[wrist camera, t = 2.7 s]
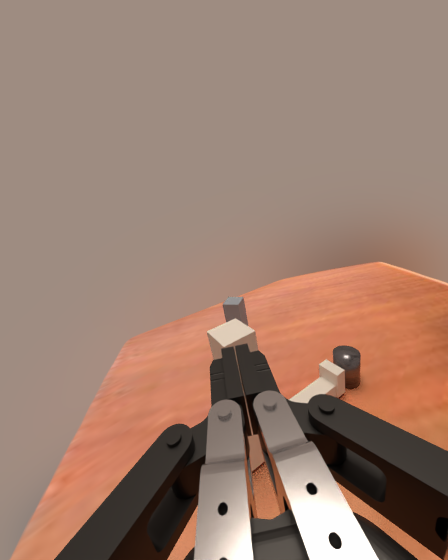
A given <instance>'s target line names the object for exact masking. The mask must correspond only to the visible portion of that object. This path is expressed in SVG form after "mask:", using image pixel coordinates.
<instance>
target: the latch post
mask: <svg viewBox="0 0 448 560" xmlns="http://www.w3.org/2000/svg"><path fill="white" fill-rule="evenodd" d="M223 309H224V314H225V319H226V322H228V321H231V320H233V319H235V318H236V319H237V320H239V321H241V322H242V323H244V324H245V325H247V326H248V321H247V315H246V309H245V304H244V298H243V297H228V298H227V300H226V301H225V302H224V303H223Z"/></svg>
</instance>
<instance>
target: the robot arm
mask: <svg viewBox="0 0 448 560" xmlns="http://www.w3.org/2000/svg"><path fill="white" fill-rule="evenodd" d="M235 351H236V355H235ZM221 353H222V358H220V359H215V360H213V362H212V364H211V366H210V381H211V404H212V406H211V409H210V411H209V414H208V416H207V418H206V419H205V420H204V421H202V422H201V423H199V424H198V425H196V426H194V427H192V428H189V427H188V426H187V425H184V424H175V425H172V426H170V427H168V428H167V429H166V430H165V431H164V432H163V433H162V434H161V435H160V436H159V437H158V438H157V440H156V441H155V442H154V443H153V444H152V445H151V447H150V448H149V449H148V450H147V451H146V452H145V454H144V455H143V456H142V457H141V458H140V460H139V461H138V462H137V463H136V464H135V465H134V467H133V468H132V469H131V470H130V471H129V472H128V474H127V475H126V476H125V477H124V478H123V479H122V481H121V482H120V483H119V484H118V485H117V486H116V488H115V489H114V490H113V491H112V492H111V494H110V495H109V496H108V497H107V498H106V499H105V501H104V502H103V503H102V504H101V505H100V506H99V508H98V509H97V510H96V511H95V512H94V513H93V515H92V516H91V517H90V518H89V519H88V520H87V522H86V523H85V524H84V525H83V526H82V528H81V529H80V530H79V531H78V532H77V533H76V535H75V536H74V537H73V538H72V539H71V540H70V542H69V543H68V544H67V545H66V546H65V547H64V549H63V550H62V551H61V552H60V553H59V554H58V556H57V557H56V558H55V559H54V560H167V559H168V557H169V555H170V553H171V551H172V550H173V548H174V546H175V544H176V543H177V541H178V539H179V537H180V535H181V534H182V532H183V530H184V528H185V527H186V525H187V523H188V521H189V520H190V518H191V516H192V514H193V512H194V511H195V509H196V507H197V505H198V512H197V526H196V539H195V547H194V548H193V549H192V550H191V551H190V552H189V553H188V555H187V556H186V557H185V559H184V560H418V559H417V558H415V557H414V556H413V555H412V554H411V553H409V552H408V551H407V550H406V549H404V548H403V547H402V546H401V545H400V544H398V543H397V542H396V541H395V540H393V539H392V538H391V537H390V536H389V535H387V534H386V533H385V532H384V531H382V530H381V529H380V528H379V527H377V526H376V525H375V524H373V523H372V522H370V521H369V520H367V519H366V518H364V517H362V516H360V515H358V514H357V513H354V512H352V511H351V509H350V507H349V505H348V503H347V501H346V500H345V498H344V496H343V494H342V492H341V491H340V489H339V487H338V485H337V483H336V482H335V481H337V482H338V483H339V484H341V485H342V486H343V487H345V488H346V489H347V490H349V491H350V492H351V493H353V494H354V495H356V496H357V497H358V498H360V499H361V500H362V501H364V502H365V503H366V504H368V505H369V506H370V507H372V508H373V509H375V510H376V511H377V512H379V513H380V514H381V515H383V516H384V517H385V518H387V519H388V520H389V521H391V522H392V523H393V524H395V525H396V526H398V527H399V528H400V529H402V530H403V531H404V532H406V533H407V534H408V535H410V536H411V537H412V538H414V539H415V540H417V541H418V542H419V543H421V544H422V545H423V546H425V547H426V548H427V549H429V550H430V551H431V552H433V553H434V554H436V555H437V556H438V557H440V558H441V559H442V560H448V451H446V450H444V449H442V448H440V447H438V446H436V445H434V444H431V443H429V442H427V441H425V440H423V439H421V438H419V437H417V436H415V435H413V434H411V433H409V432H406V431H404V430H402V429H400V428H398V427H396V426H394V425H392V424H390V423H388V422H386V421H384V420H382V419H379V418H377V417H375V416H373V415H371V414H369V413H367V412H365V411H363V410H361V409H359V408H357V407H355V406H352V405H350V404H348V403H346V402H344V401H342V400H340V399H338V398H336V397H334V396H331V395H328V394H318V395H315V396H313V397H312V398H311V399H310V400H309V402H308V403H299V402H293V401H290V400H288V399H286V398H285V397H284V396H283V395H281V393H280V392H279V389H278V387H277V385H276V382H275V380H274V377H273V375H272V372H271V370H270V368H269V365H268V363H267V360H266V358H265V355H263V354H262V353H261V352H260V351H259V350H258V351H254V352H250V350H249V347H248V344H247V343H246V344H241V345H236V346H235V350H234V346H232V347H227V348H222V349H221ZM236 356H237V360H236ZM237 361H238V364H237ZM238 366H239V369H238ZM239 371H240V373H239ZM240 376H241V378H240ZM241 381H242V383H241ZM242 386H243V387H242ZM243 390H244V392H243ZM244 395H245V396H244ZM245 399H246V402H245ZM246 404H247V407H246ZM247 408H248V412H247ZM248 413H249V417H250V422H251V426H252V431H253V435H257V434H258V436H259V441H260V445H261V451H262V455H263V458H264V461H265V464H266V467H267V471H268V474H269V477H270V480H271V483H272V486H273V490H274V493H275V496H276V499H277V503H278V506H279V510H280V515H279V516H277V517H276V518H274V519H271V520H267V519H258V517H257V511H256V503H255V494H254V486H253V477H252V468H251V460H250V445H249V440H248V436H252V433H251V428H250V423H249V417H248Z"/></svg>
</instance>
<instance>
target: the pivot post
mask: <svg viewBox="0 0 448 560" xmlns="http://www.w3.org/2000/svg"><path fill="white" fill-rule="evenodd" d="M333 364H335V365H337V366H338V367H340V368H342V369H344V370H345V388H348V389H353V388H356V387H358V386H359V384H360V352H359V351H358V350H357V349H355V348H353V347H350V346H338V347H336V348H334V350H333Z"/></svg>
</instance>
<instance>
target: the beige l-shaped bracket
mask: <svg viewBox="0 0 448 560" xmlns="http://www.w3.org/2000/svg"><path fill="white" fill-rule="evenodd" d="M207 334H208V338H209V342H210V347H211V351H212V355H213V359H214V360H215V359H220V358H222V353H221V349H222V348H227V347H232V346H234V350H235V346H236V345H241V344H246V343H247V344H248V347H249V350H250V352H254V351H258V345H257V339H256V333H255V330H253V329H251V328H250V327H248V326H247V325H245V324H244V323H242V322H241V321H239V320H237V319H236V318H235V319H233V320H231V321H228V322H226V323H224V324H222V325H220V326H218V327H216V328H213V329H211V330H209V331H207ZM235 355H236V351H235ZM236 360H237V356H236ZM237 364H238V361H237ZM238 369H239V366H238ZM239 373H240V371H239ZM319 375H320V378H318V379H317V380H315V381H314V382H313V383H311V384H310V385H309V386H307V387H306V388H304V389H303V390H302V391H300V392H299V393H298V394H296V395H295V396H293V397H292V398H291V399H289V400H290V401H293V402H299V403H308V402H309V400H310V399H311V398H312V397H313V396H315V395H318V394H328V395H331V396H334V397H337V398H339V397H340V396H341V395H342V394H343V393H345V370H344V369H342V368H340V367H338V366H337V365H335V364H333V363H331V362H330V361H328V360H325V361H323V362H322V363H320V364H319ZM240 378H241V376H240ZM241 383H242V381H241ZM242 387H243V386H242ZM243 392H244V390H243ZM244 396H245V395H244ZM245 402H246V399H245ZM246 407H247V404H246ZM247 412H248V408H247ZM248 417H249V413H248ZM249 423H250V428H251V433H252V436H248V440H249V445H250V460H251V468H252V471H253V470H255V469H256V468H257V467H258V466H259V465H261V464H262V463H263V462H264V458H263V455H262V451H261V445H260V441H259V436H258V434H257V435H253V431H252V426H251V422H250V417H249Z"/></svg>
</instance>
